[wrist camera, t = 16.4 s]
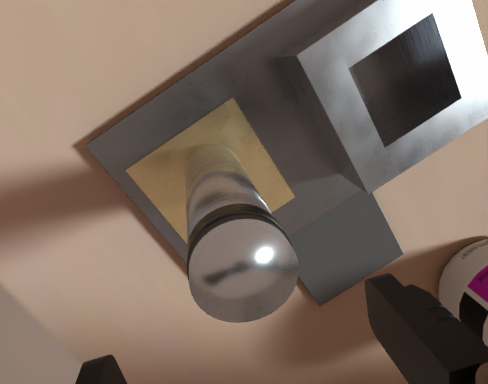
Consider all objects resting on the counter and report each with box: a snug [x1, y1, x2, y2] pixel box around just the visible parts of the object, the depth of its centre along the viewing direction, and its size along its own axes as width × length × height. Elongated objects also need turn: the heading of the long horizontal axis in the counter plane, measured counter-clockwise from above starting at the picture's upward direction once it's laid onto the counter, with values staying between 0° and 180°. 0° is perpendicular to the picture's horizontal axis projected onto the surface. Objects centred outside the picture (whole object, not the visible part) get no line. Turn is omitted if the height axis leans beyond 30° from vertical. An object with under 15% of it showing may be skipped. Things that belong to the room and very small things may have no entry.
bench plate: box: [85, 0, 488, 263], centre depth 21 cm, size 13×24×5 cm, turn 122°
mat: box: [288, 190, 403, 306], centre depth 27 cm, size 8×8×1 cm
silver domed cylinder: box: [184, 143, 299, 323], centre depth 17 cm, size 4×4×12 cm
